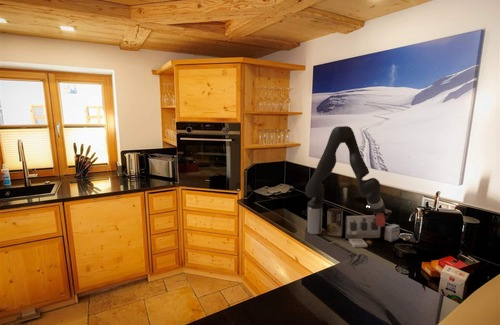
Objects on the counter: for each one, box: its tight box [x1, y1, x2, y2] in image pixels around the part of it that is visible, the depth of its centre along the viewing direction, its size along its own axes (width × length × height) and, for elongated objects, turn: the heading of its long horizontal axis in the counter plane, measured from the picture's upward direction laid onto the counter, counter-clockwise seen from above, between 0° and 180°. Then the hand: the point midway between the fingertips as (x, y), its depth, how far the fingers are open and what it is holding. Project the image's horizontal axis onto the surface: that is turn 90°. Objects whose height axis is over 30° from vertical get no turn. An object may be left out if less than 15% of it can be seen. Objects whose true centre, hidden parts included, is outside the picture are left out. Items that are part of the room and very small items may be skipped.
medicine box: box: [384, 223, 401, 243], centre depth 161 cm, size 8×4×9 cm, turn 118°
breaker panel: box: [344, 214, 382, 240], centre depth 163 cm, size 4×21×14 cm, turn 91°
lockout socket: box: [348, 238, 368, 248], centre depth 156 cm, size 8×8×2 cm
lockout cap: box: [376, 213, 386, 227], centre depth 154 cm, size 5×5×10 cm
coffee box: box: [326, 207, 344, 237], centre depth 170 cm, size 9×6×16 cm
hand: (381, 217), depth 156 cm, fingers closed on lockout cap, 4 cm apart
